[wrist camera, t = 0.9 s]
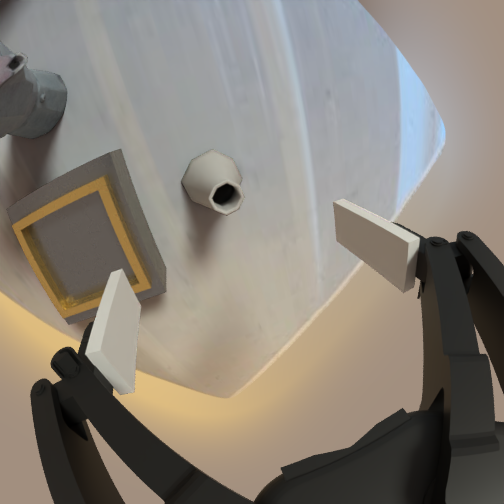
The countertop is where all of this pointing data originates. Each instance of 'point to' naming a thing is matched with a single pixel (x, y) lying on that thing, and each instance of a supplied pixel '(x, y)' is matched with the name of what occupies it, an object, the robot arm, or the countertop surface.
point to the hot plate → (88, 236)
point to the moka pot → (28, 97)
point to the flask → (214, 182)
